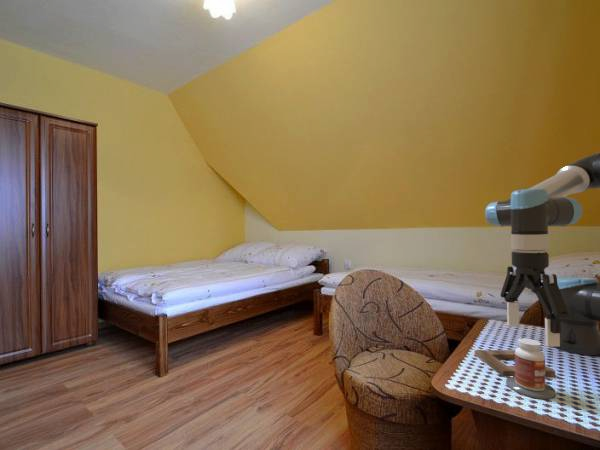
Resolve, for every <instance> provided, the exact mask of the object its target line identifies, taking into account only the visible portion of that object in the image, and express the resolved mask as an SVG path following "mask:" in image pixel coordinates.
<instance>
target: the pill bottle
mask: <svg viewBox="0 0 600 450" xmlns="http://www.w3.org/2000/svg"><path fill="white" fill-rule="evenodd" d="M517 342H518V343H517V346H518V347H516V348H515V359H514V366H515V382H516V383H517V384H518V385H519V386H521V387H523V388H525V389H528V390H533V391H543V390H544V389H545V383H546V377H545V366H546V357H545V354H544V353H543V351H542V343H541V342H540V341H538V340H535V339H531V338H519V339H518V340H517Z"/></svg>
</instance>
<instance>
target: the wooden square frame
mask: <svg viewBox="0 0 600 450" xmlns="http://www.w3.org/2000/svg"><path fill="white" fill-rule="evenodd" d="M515 350H516V349H515ZM515 350H514V349H512V350H511V349H506V350H505V349H500V350H498V349H484V350H483V349H482V350H481V349H475V350H474V355H475V357H477V359H480V360H481V361H482V362H483V363H484V364H486V365H487V366H488V367H490V368H491V369H492V370H493V371H495V372H496V373H497V374H499V375H500V376H501V377H503V378H505V376H506V377H507V376H515V365H507V364H506V363H504V362H502V361H501V360H515ZM555 377H556V370H554V369H552V368H551V367H548V366H547V365H545V378H555ZM507 378H508V377H507Z"/></svg>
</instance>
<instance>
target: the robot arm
mask: <svg viewBox="0 0 600 450" xmlns="http://www.w3.org/2000/svg"><path fill="white" fill-rule="evenodd" d="M594 189H600V152H596V153H593V154H590V155H587V156H585V157H582V158H580V159H578V160H576V161H573V162H571V163H570V164H568V165H565V166H564V167H561V168H560V169H559V170H558V171H557V172H556V174H555V175H553V176H551V177H549V178H547V179H545V180H543V181H541V182H540V183H539V182H538V183H537V184H536V185H535V184H534V185H533V186H531V187H530V188H527V189H526V188H525V189H518V190H514V191H512V192H511V194H510V197H509V198H508V199H505V200H498V201H493V202H490V203H489V204H488V205H487V206H486V207H485V209H484V216H485V220H486V221H487V223H488V224H489V225H492V226H496V227H497V226H498V227H511V230H510V232H511V233H510V248H511V249H512V250H513V251H512V252H511V265H512V266H507V269H506V270H507V272H506V277H505V280H504V282H503V284H502V285H503V286H502V289H501V291H500V297H501V298H502V299H504V301H505V302H506V303H505V304H506V321H507V322H506V324H507V325H506V326H507V327H509V328H511V327H514V328H515V327H516V328H517V327H520V310H519V309H520V306H519V305H520V304H519V297H520V296H521V294H522V293H523V291H524V290H525V289H526V288H527V289H528V290H531V291H532V292H533V293H535V295H536V298H537V299H538V300H539V301H538V302H539V303H540V304H541V306H542V308H543V310H544V312H545V313H546V316H545V317H544V333H545V334H544V336H545V337H544V340H545V347H547V348H549V347H551V348H552V347H553V348H557V350H558V349H559V350H562V351H564V352H565V351H566V352H569V353H573V354H578V355H586V356H600V328H599V322H600V281H599V280H598V278H596V277H578V276H577V277H574V276H573V277H559V278H558V276H557V274H555V273H553V274H552V273H549V274H548V273H546V271H545V269H547V268H548V267H549V266H550V257H549V256H550V254H549V253H548V252H547V251H548V250H549V227H566V226H572V225H574V224H576V223H578V222H579V221H580V219H581V217H582V216H583V207H582V205H581V204H580V202H579V201H578V200H577V199H575V198H572V197H567V196H570V195H572V194H579V193H582V192H584V191H586V190H587V191H588V190H594Z"/></svg>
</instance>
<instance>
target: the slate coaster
mask: <svg viewBox="0 0 600 450" xmlns="http://www.w3.org/2000/svg"><path fill="white" fill-rule="evenodd" d="M505 383H506V386H507V387H508V388H509V389H510V390H512V391H513V390H514V391H513V392H515V393H517V394H519V395H522V396H525V397H527V398H531V399H537V400H553V399H554V398H556V396H557V393H556V390H555V389H554V388H553V387H552V386H551V385H549V384H548V383H546V382H545V389H544V390H543V391H533V390H528V389H525V388H523V387H521V386H519V385H518V384H517V383H516V382H515V376H513V377H507V378H506V379H505Z"/></svg>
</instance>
